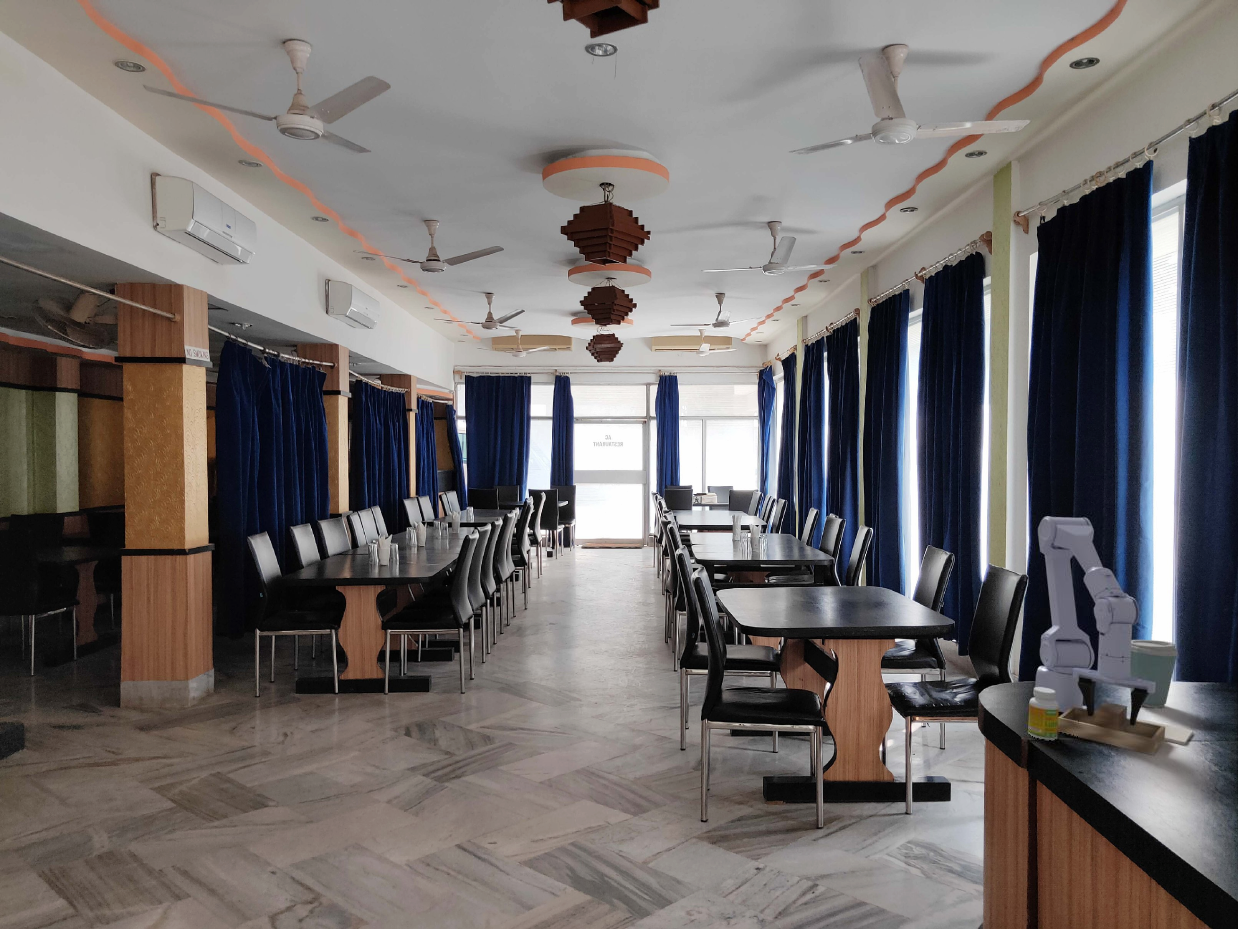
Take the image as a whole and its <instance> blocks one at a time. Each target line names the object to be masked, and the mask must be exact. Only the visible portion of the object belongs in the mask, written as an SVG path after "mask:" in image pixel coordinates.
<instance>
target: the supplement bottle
mask: <svg viewBox="0 0 1238 929" xmlns="http://www.w3.org/2000/svg"><path fill="white" fill-rule="evenodd" d="M1033 696H1034V697H1031V698H1030V700H1029V704H1028V706H1029V707H1028V723H1027V724H1028V726H1027V729H1028V730H1027V733H1028V735H1029V734H1030V735H1031V736H1030V735H1029V736H1030V737H1032V736H1033V737H1032V738H1034V737H1035V738H1034V739H1037V738H1039V739H1038V740H1041V739H1045V740H1044V741H1049V740H1051V741H1055V739H1056V740H1057V739H1058V733H1059V732H1058V717H1059V705H1058V703H1057V702H1056V701H1054V699H1055V691H1054V690H1052V689H1049V688H1044V687H1033Z"/></svg>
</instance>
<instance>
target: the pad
mask: <svg viewBox="0 0 1238 929" xmlns="http://www.w3.org/2000/svg"><path fill="white" fill-rule="evenodd" d="M1137 721H1142V722H1146V723H1151V724H1156V725H1160V726H1165V741H1164V742H1169V743H1174V744H1179V745H1182V746H1186V744H1188V743H1187V742H1188V741H1189V740H1190V738H1191V737H1192V735H1193V733H1194V730H1192V729H1188V728H1184V727H1178V726H1173V725H1169V724H1164V723H1159V722H1155V721H1151V720H1146V719H1142V718H1137ZM1188 739H1189V740H1188Z"/></svg>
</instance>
